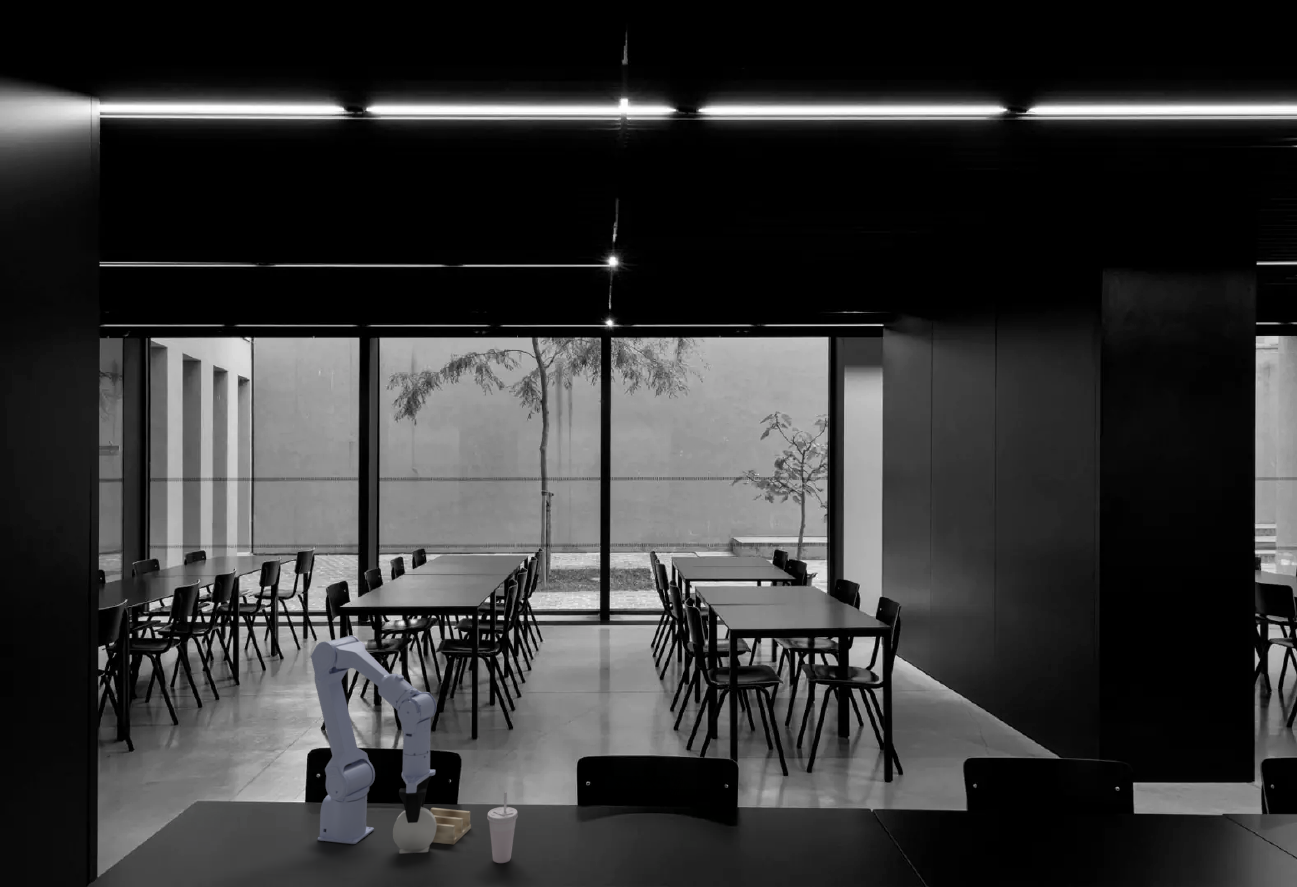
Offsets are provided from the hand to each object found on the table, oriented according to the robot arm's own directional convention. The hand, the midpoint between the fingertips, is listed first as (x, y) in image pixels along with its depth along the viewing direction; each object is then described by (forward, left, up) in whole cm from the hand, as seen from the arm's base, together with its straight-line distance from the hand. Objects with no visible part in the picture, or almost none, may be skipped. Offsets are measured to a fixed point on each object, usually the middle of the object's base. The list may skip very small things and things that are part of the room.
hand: (415, 815), depth 176 cm
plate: (0, 0, -8) cm, 8 cm away
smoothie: (+20, +1, -8) cm, 21 cm away
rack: (+2, +9, -8) cm, 12 cm away
